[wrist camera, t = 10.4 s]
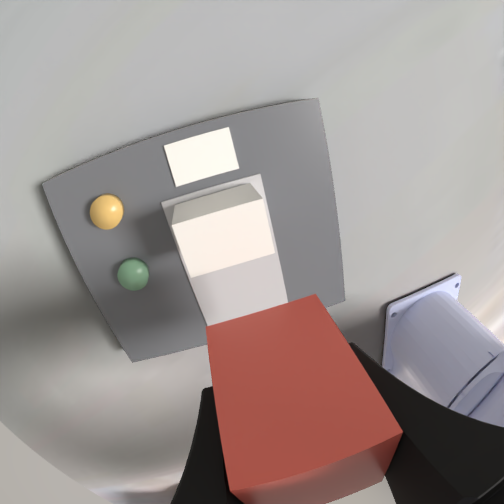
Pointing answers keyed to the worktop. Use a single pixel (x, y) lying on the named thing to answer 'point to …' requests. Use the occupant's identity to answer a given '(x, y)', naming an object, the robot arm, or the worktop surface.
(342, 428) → the block
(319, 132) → the breaker panel
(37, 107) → the worktop surface
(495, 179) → the worktop surface
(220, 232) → the block
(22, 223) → the worktop surface
